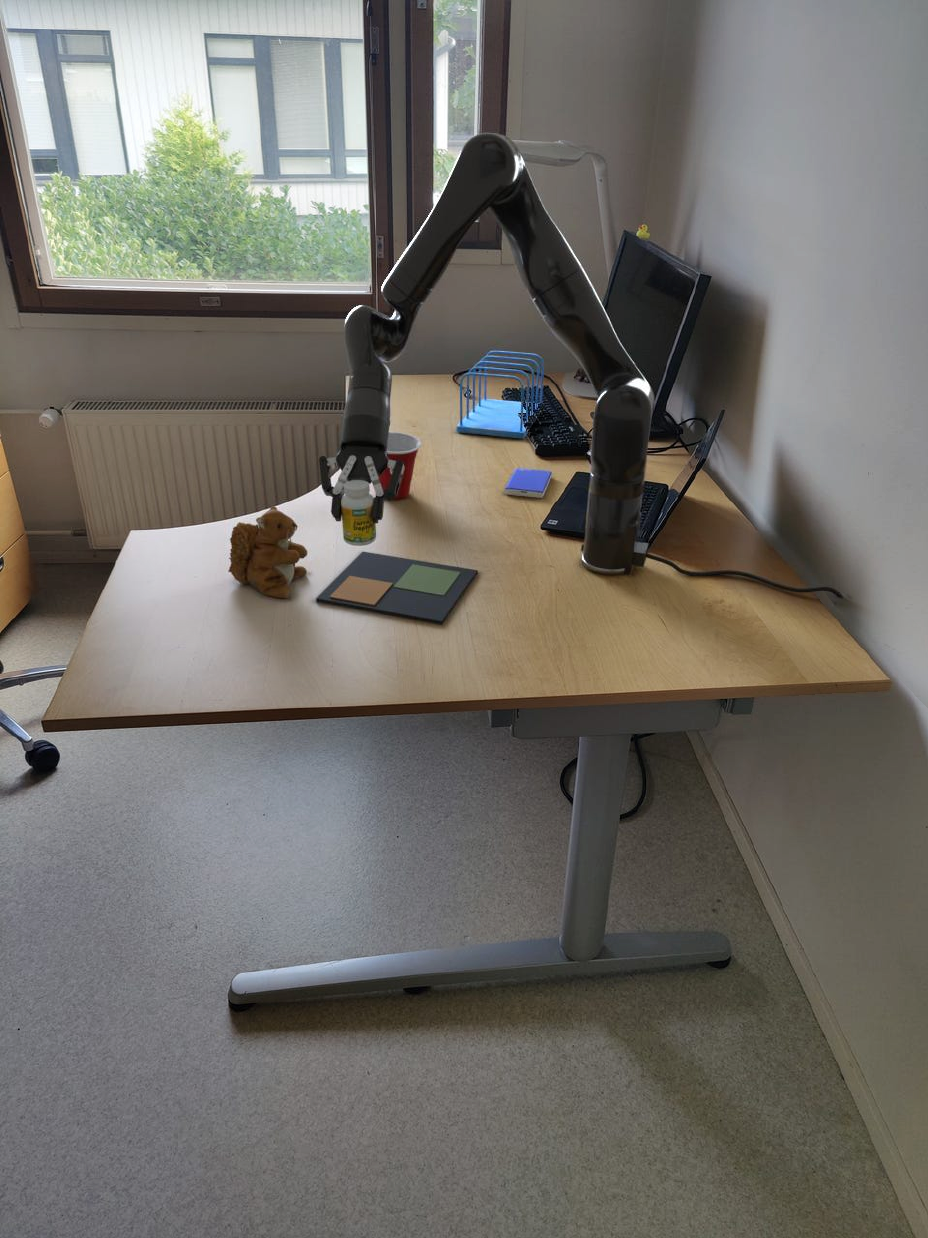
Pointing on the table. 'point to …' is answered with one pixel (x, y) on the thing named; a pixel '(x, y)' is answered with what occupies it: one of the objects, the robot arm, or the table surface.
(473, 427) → the file sorter
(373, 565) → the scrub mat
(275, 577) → the stuffed squirrel
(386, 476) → the plastic cup
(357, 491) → the supplement bottle
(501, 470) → the table surface
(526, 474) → the hard drive
